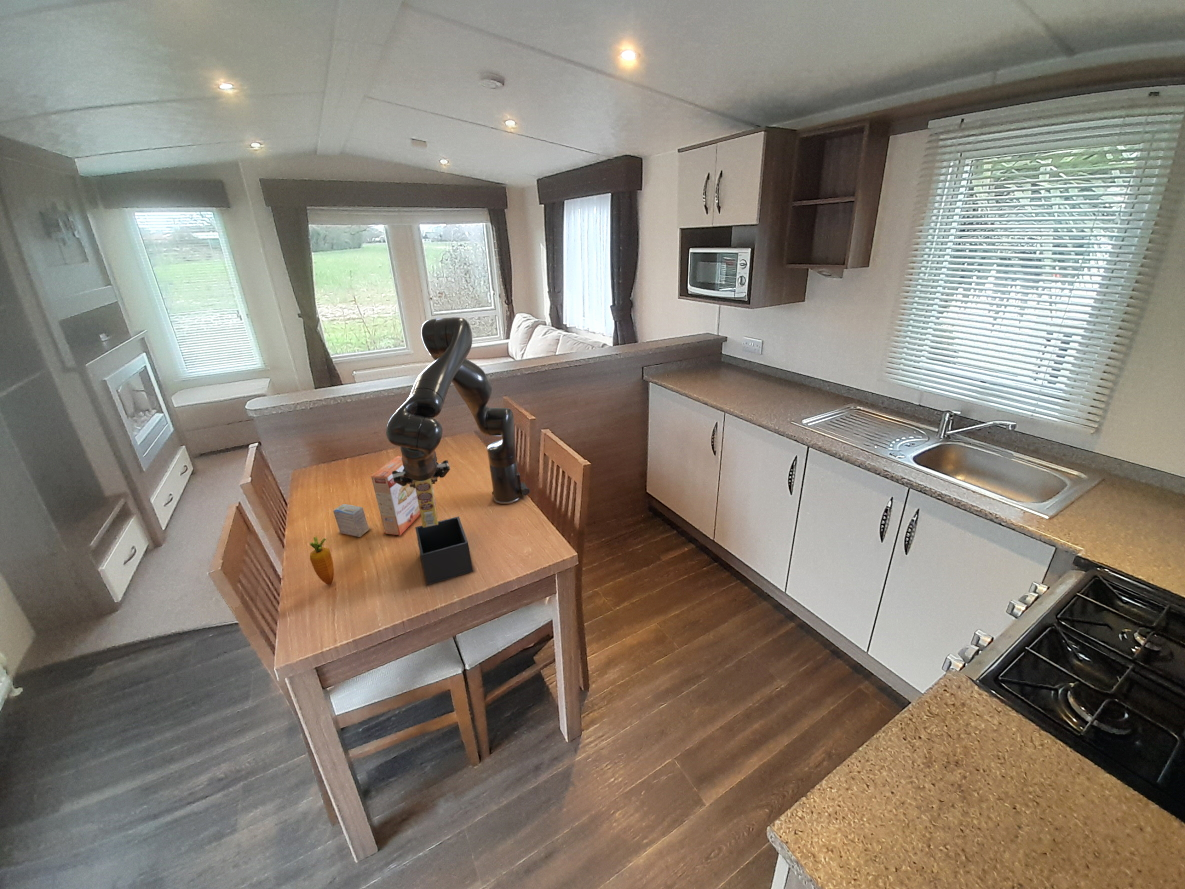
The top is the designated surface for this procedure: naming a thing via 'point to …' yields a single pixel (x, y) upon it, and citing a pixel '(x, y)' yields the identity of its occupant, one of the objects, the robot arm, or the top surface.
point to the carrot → (322, 561)
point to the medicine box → (351, 520)
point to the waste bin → (444, 550)
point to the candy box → (426, 503)
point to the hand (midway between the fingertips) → (423, 482)
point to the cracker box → (395, 499)
